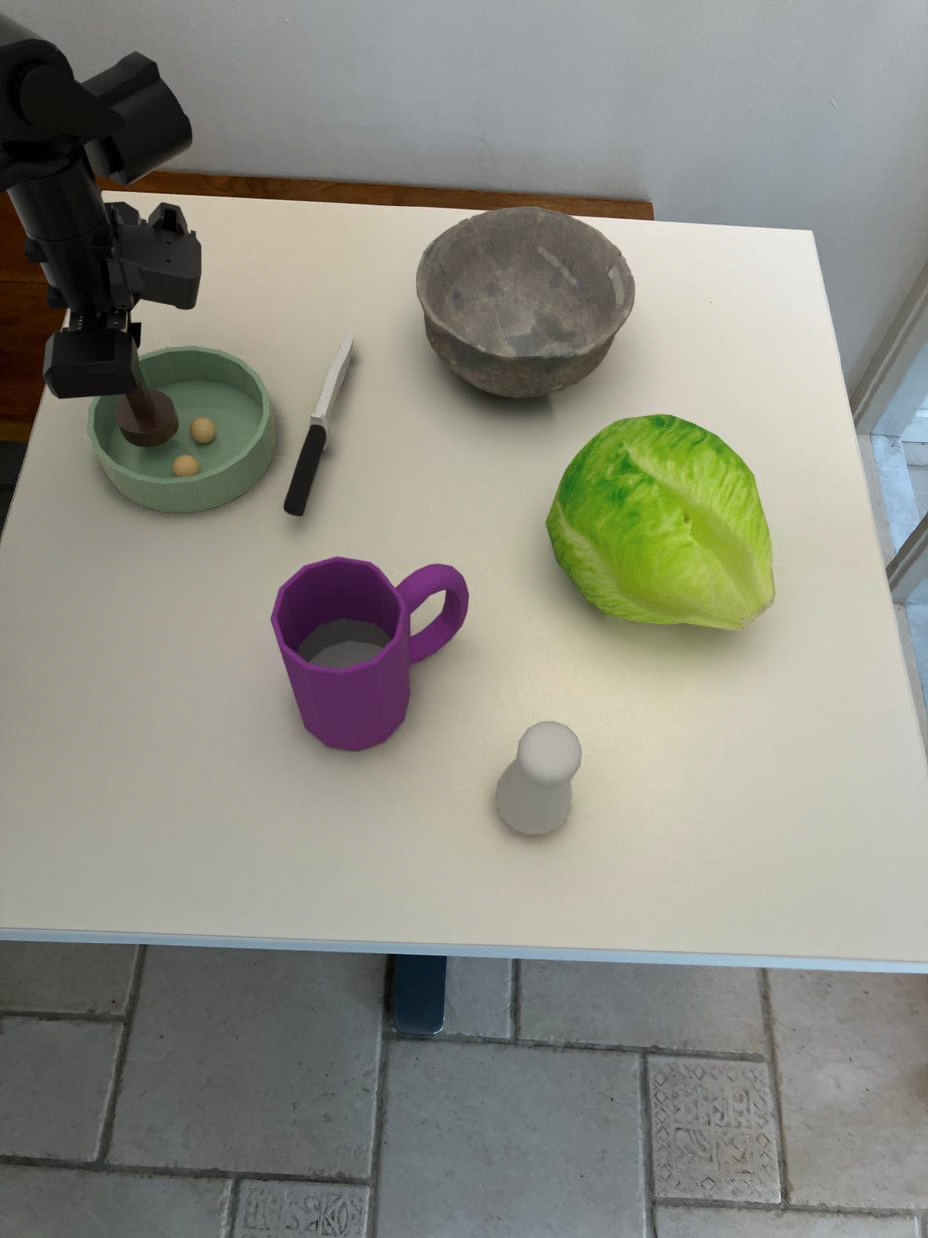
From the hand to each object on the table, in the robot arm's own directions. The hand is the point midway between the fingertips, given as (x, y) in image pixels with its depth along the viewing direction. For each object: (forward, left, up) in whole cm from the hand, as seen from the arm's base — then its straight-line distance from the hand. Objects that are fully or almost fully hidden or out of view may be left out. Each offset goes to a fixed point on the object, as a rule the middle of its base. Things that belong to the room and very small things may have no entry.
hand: (128, 374), depth 76 cm
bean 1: (+3, -4, -9) cm, 10 cm away
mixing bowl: (+3, 0, -10) cm, 10 cm away
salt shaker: (+29, -39, -10) cm, 49 cm away
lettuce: (+43, -20, -10) cm, 48 cm away
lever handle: (0, 0, -7) cm, 7 cm away
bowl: (+36, +8, -10) cm, 38 cm away
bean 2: (+5, 0, -9) cm, 10 cm away
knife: (+16, 0, -10) cm, 19 cm away
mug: (+19, -27, -10) cm, 34 cm away
